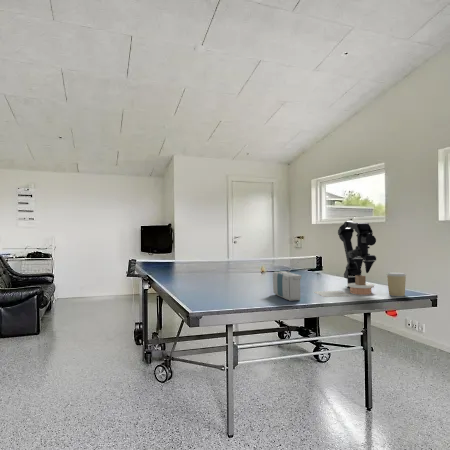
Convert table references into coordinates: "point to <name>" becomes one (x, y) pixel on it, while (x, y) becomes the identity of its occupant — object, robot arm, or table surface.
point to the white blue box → (287, 285)
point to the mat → (332, 293)
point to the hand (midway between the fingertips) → (363, 271)
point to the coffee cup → (396, 283)
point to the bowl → (360, 290)
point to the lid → (360, 282)
